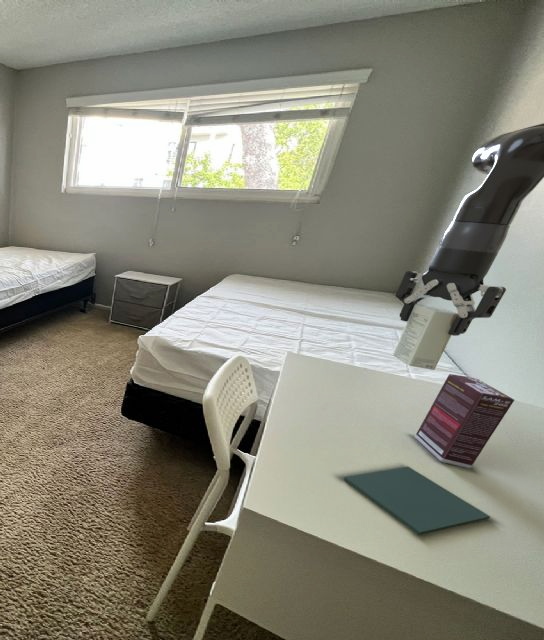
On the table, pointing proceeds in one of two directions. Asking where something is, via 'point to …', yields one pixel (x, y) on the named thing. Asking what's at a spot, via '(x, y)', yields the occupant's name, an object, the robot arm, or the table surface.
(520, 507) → the table surface
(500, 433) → the table surface
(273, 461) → the table surface
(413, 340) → the cosmetic box
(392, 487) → the desk mat
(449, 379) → the supplement box
